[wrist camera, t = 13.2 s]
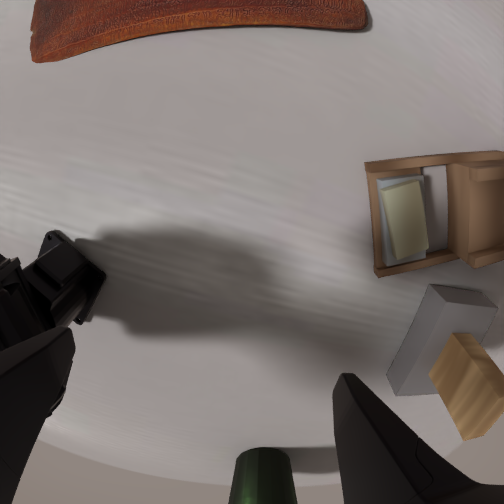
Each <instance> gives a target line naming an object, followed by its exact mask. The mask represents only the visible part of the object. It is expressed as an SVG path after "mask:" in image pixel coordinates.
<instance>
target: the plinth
mask: <svg viewBox="0 0 504 504" xmlns="http://www.w3.org/2000/svg"><path fill="white" fill-rule="evenodd" d="M497 310H498V307H497V306H495V305H494V304H493V303H492V302H491V301H490V300H489V299H488V298H487V297H486V296H485V295H484V294H482V293H481V292H475V291H469V290H463V289H456V288H450V287H444V286H438V285H432V284H429V286H428V288H427V291H426V293H425V296H424V298H423V300H422V303H421V305H420V307H419V310H418V312H417V314H416V316H415V319H414V321H413V323H412V325H411V327H410V329H409V331H408V334H407V336H406V338H405V340H404V342H403V344H402V346H401V348H400V350H399V352H398V354H397V356H396V357H395V359H394V361H393V363H392V365H391V367H390V369H389V370H388V372H387V374H386V375H387V378H388V380H389V382H390V384H391V387H392V389H393V391H394V394H395V396H411V395H428V394H439V393H438V391H437V389H436V387H435V386H434V384H433V382H432V380H431V379H430V377H429V375H428V374H429V372H430V371H431V369H432V367H433V366H434V364H435V362H436V361H437V359H438V357H439V355H440V354H441V352H442V350H443V348H444V347H445V345H446V343H447V341H448V339H449V337H450V335H451V333H467V334H471V335H472V336H473V337H474V338H475V339H476V341H477V342H478V343H479V344H480V343H481V341H482V340H483V338H484V336H485V334H486V332H487V330H488V328H489V326H490V325H491V323H492V321H493V319H494V317H495V314H496V312H497Z"/></svg>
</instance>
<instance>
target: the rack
mask: <svg viewBox="0 0 504 504" xmlns="http://www.w3.org/2000/svg"><path fill="white" fill-rule="evenodd" d="M364 163H365V171H366V173H367V181H368V190H369V199H370V209H371V220H372V233H373V248H374V273H375V274H376V275H377V277H378V278H381V277H385V276H390V275H394V274H399V273H403V272H407V271H412V270H416V269H420V268H424V267H428V266H432V265H436V264H440V263H444V262H448V261H452V260H456V259H460V258H461V259H462V260H463V261H465V262H466V263H467V264H469V265H470V266H471V267H472V268H474V269H476V268H479V267H483V266H486V265H489V264H492V263H496V262H499V261H502V260H504V152H502V151H477V152H461V153H448V154H436V155H425V156H415V157H405V158H396V159H388V160H380V161H372V162H364ZM441 164H446V172H447V191H448V247H447V249H444V250H440V251H435V252H431V253H427V254H426V249H428V248H429V244H428V235H427V228H426V213H425V191H424V177H423V175H421V171H420V167H422V166H431V165H441Z"/></svg>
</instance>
